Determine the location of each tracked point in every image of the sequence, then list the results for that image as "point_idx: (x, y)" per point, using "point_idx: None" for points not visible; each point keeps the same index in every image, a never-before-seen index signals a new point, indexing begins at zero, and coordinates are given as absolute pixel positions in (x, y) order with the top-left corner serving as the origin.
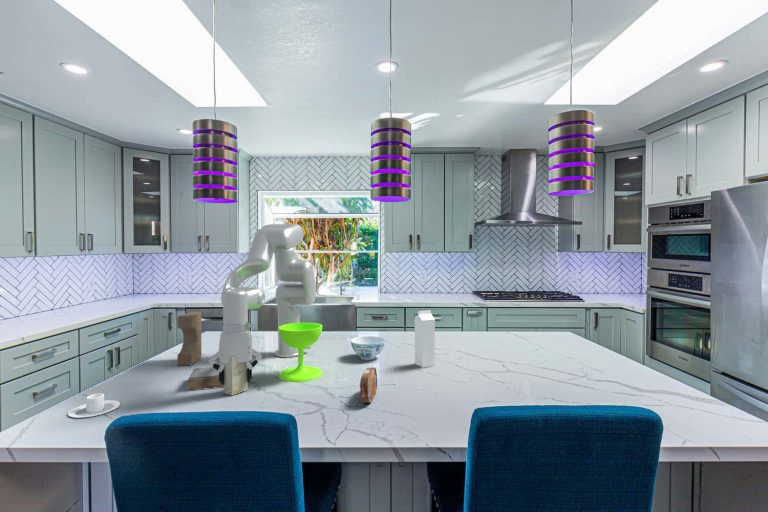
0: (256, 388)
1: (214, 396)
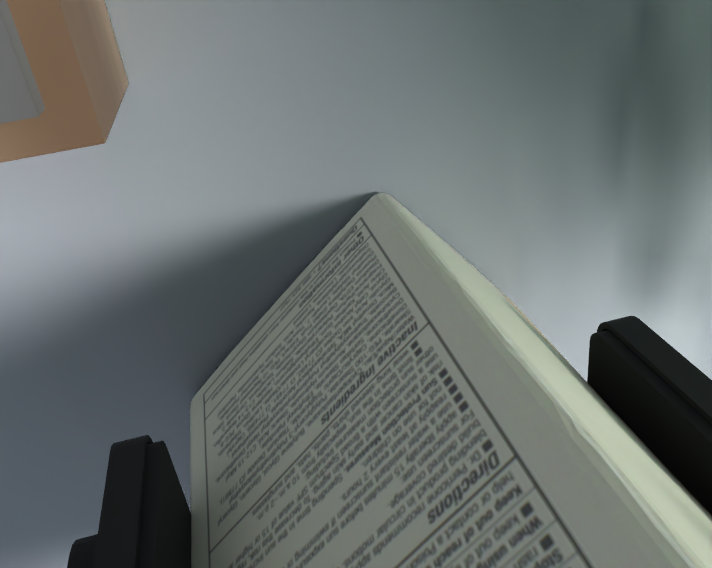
0: (624, 224)
1: (87, 478)
